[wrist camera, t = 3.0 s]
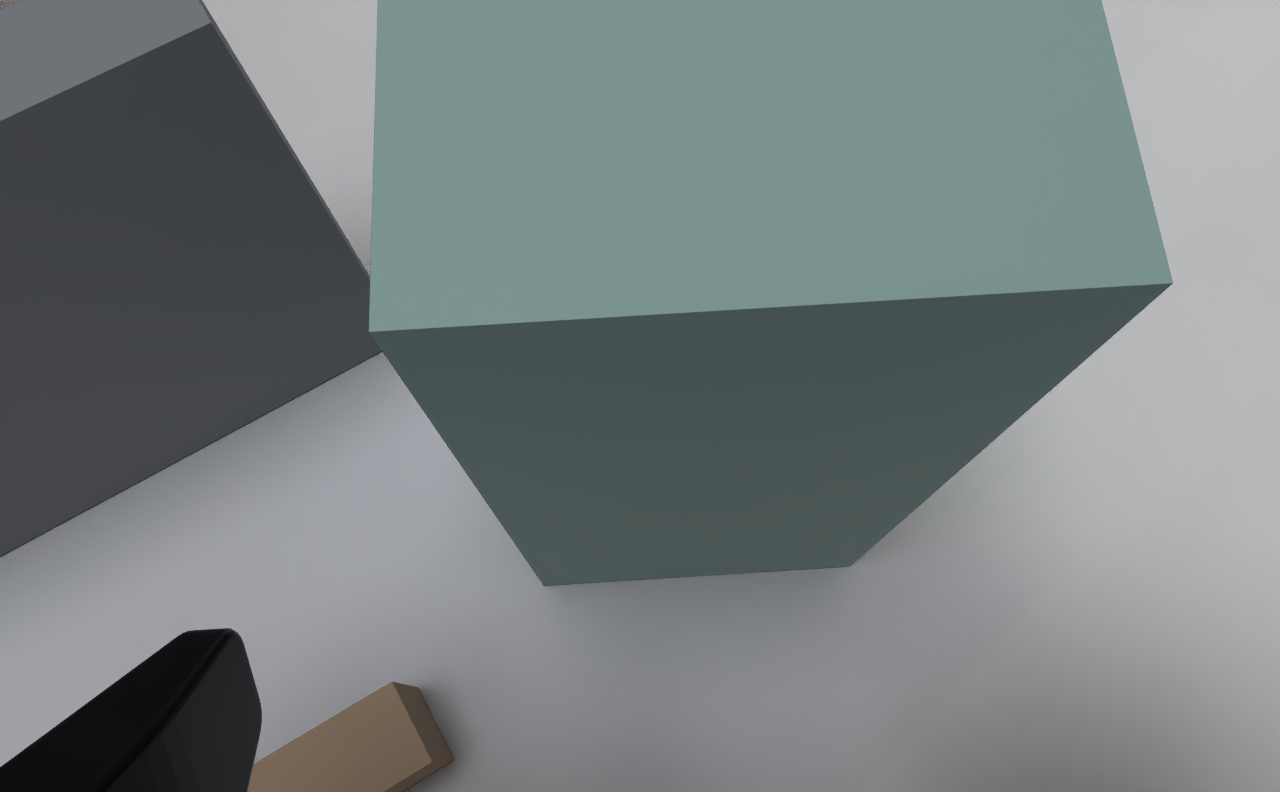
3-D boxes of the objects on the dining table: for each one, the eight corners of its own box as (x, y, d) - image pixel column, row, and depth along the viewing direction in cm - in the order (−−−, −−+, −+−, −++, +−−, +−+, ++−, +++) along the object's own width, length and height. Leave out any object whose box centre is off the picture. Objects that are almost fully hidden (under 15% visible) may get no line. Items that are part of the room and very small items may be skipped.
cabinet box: (850, 566, 20) (1172, 283, 8) (543, 585, 20) (368, 332, 8) (819, 330, 21) (1046, -219, 9) (536, 348, 21) (382, -183, 9)
